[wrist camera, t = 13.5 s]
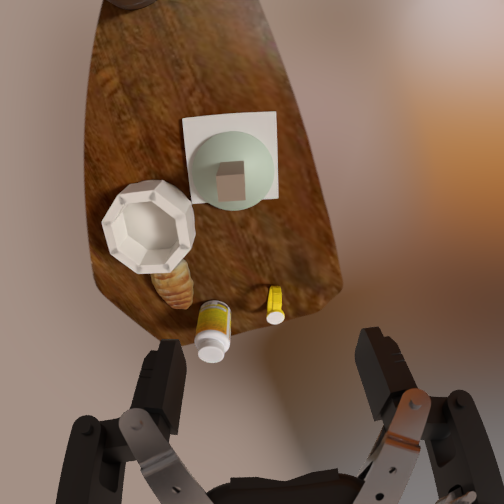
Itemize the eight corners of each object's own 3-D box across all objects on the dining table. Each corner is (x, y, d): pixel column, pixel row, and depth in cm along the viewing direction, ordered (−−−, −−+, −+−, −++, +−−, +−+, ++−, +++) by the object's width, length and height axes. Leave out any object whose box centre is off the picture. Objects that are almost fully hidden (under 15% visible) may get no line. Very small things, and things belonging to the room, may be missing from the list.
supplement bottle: (194, 303, 50) (186, 346, 41) (224, 295, 49) (220, 339, 40) (207, 325, 53) (202, 369, 44) (235, 318, 52) (235, 362, 43)
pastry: (202, 300, 50) (199, 315, 47) (166, 305, 50) (162, 319, 47) (186, 254, 45) (182, 267, 42) (148, 260, 46) (141, 274, 43)
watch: (278, 306, 51) (281, 332, 46) (262, 305, 51) (264, 331, 46) (283, 280, 48) (287, 305, 43) (266, 278, 48) (269, 304, 43)
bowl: (111, 184, 39) (95, 197, 34) (189, 175, 39) (181, 187, 34) (128, 255, 45) (116, 274, 40) (199, 251, 45) (194, 271, 40)
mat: (183, 118, 35) (182, 118, 34) (275, 111, 35) (276, 111, 34) (192, 202, 41) (191, 203, 40) (277, 196, 41) (278, 198, 40)
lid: (188, 135, 36) (176, 144, 29) (272, 129, 36) (279, 136, 29) (197, 211, 41) (188, 235, 34) (274, 206, 41) (281, 230, 34)
